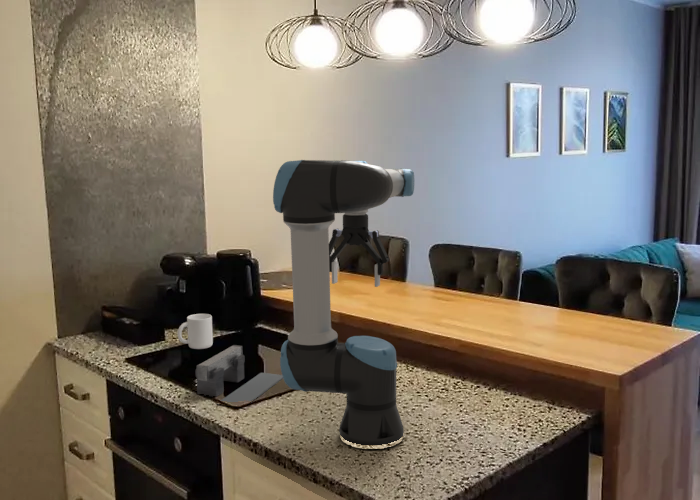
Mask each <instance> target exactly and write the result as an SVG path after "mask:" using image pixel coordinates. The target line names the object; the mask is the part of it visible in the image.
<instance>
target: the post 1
mask: <svg viewBox="0 0 700 500" xmlns="http://www.w3.org/2000/svg"><path fill="white" fill-rule="evenodd" d="M194 372H195V377H196V378H197V368H196V369H195V371H194ZM223 375H224V368H218V369H217V370H215V371H213V378H211V379H210V380H208V381H201V380H197V379H196V391H197V392H196V394H197V395H198V394H204V395H203V396H206V395H209V396H208V397H213V396H216V397H215V398H217V397H219V396H220V395H222V394H223V393H224V391H225V389H224V388H225V387H224V386H225V385H224V381H223Z"/></svg>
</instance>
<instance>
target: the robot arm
mask: <svg viewBox="0 0 700 500" xmlns="http://www.w3.org/2000/svg"><path fill="white" fill-rule="evenodd" d="M275 176H276V177H275V180H274V184H273V189H272V190H273V192H272V201H273V207H274V210H275V211H276V212H277V213H279V214H282V215H283V216H282V218H283V219H282V220H283V223H284V224H285V225H286V226H287V227H289V230H290V249H291V250H290V254H291V274H292V275H291V276H292V277H291V279H292V302H293V303H292V304H293V326H294V327H293V329H292V331H291V332H290V333H289V334H288V336H287V340H285V341H284V342H283V344H281V348H280V357H279V364H280V371H281V375H282V376H283V379H282V380H283V381H284V383H285V384H286V385H287V387H289V389H291V390H295V391H296V390H297V391H302V392H316V393H317V392H318V393H333V394H345V396H346V407H345V409H344V412H343V415H342V419H341V422H340V424H339V428H338V429H339V432H340V435H341V436H342V437H343V438H344V439H345V440H347V441H349V442H352V443H356V444H361V445H382V444H388V443H391V442H394V441H397V440H399V439H400V438H401V437H402V436H403V433H404V432H405V431H404V429H405V428H404V424H403V422H402V419H401V416H400V412H399V409H398V406H397V368H398V361H397V351H396V348H395V346H394V345H393V344H392V343H391V342H389V341H387V340H385V339H382V338H381V337H377V336H376V337H375V336H370V335H353V336H350V337H348V338H347V339H346V341H345V342H339V340H338V339H339V338H338V336H339V334H338V333H337V331H336V330H334V329H333V328H332V317H331V316H332V315H331V313H332V312H331V284H333V285H334V284H337V283H338V282H339V281H338V277H339V276H338V260H336V259H337V258H338V257H339V255H340V254H341V253H342V252H343V251H344V250H345V248H346V247H347V246H348V245H349V246H353V245H354V246H363V248H365V250H366V251H367V253H369V255H370V256H371V257H372V259H373V260H374V261H375V263H376V264H374V287H376V288H378V287H380V286H381V276H382V275H383V274H384V264H386V263H388V262H389V261H390V257H389V255H388V253H387V250H386V248H385V246H384V244H383V242H382V241H381V239H380V232H379V230H378V229H376V230H371V231H370V230H369V214H367V213H368V212H369V210H371V209H373V208H377V207H380V206H381V205H384V204H385V203H386V202H387V201H388V200H389V199H390V198H394V197H398V198H399V197H401V198H404V197H411V196H413V195H414V193H415V173H414V171H413V169H410V168H384V167H382V166H379V165H377V164H370V163H368V162H367V161H365V160H347V159H346V160H343V159H342V160H325V159H324V160H322V159H321V160H320V159H319V160H318V159H315V160H314V159H299V160H289V161H286V162H284V163H283V164H282V165H281V166H280V167H279V168H278V171H277V173H276V175H275ZM336 214H343V215H342V229H340V228H333V230H332V232H331V233H332V236H331V238H329V234H330V233H329V228H330V226H332V224H333V223H334V222H335V219H336V218H335V217H336ZM341 235H342V237H343V240H342V241H341V242H340V244H339V245H338V246H337V248H336V249H335V250H334V248H335V246H336V244H337V242H338V240H339V237H341ZM369 237H371V239H372V240H373V243H374V244H375V248H376V249H377V250H376V249H375V248H374V246H373V245H372V244H371V242H370V241H369V240H368V238H369ZM329 240H330V241H329ZM333 250H334V252H333ZM377 251H378V252H377ZM332 252H333V253H332ZM330 275H331V276H330ZM330 277H331V279H330ZM330 280H331V281H330ZM330 283H331V284H330ZM339 432H338V433H339Z"/></svg>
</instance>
